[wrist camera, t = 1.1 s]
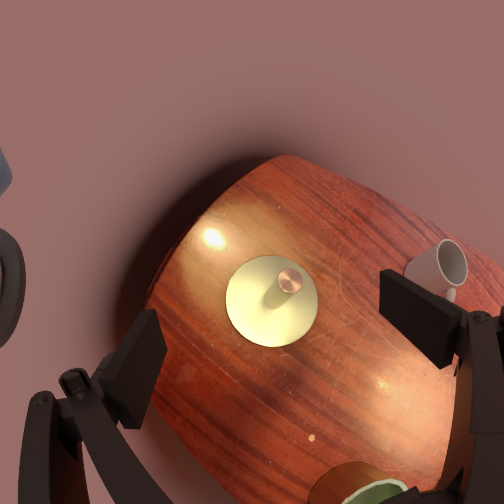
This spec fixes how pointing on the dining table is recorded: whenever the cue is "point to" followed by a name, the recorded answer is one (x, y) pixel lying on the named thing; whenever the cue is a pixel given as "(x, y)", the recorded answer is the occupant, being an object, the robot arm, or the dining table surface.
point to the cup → (439, 269)
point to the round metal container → (355, 485)
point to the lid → (271, 301)
